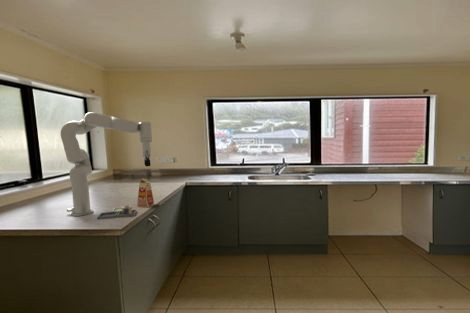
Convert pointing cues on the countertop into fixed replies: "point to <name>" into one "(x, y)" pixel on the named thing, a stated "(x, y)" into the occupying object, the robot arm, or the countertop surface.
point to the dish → (117, 209)
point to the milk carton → (145, 194)
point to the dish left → (108, 215)
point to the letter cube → (127, 209)
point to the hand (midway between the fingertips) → (147, 165)
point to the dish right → (127, 214)
